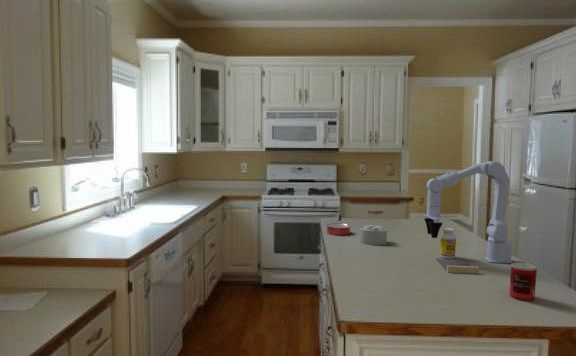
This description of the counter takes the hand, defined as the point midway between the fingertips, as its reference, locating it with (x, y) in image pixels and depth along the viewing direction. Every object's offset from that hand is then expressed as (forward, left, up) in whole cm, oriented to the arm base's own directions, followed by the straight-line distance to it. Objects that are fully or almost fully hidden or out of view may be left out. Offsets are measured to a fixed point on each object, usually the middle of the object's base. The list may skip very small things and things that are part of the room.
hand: (432, 235), depth 201 cm
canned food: (-20, +47, -10) cm, 52 cm away
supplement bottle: (-8, -3, -10) cm, 13 cm away
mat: (-8, +11, -10) cm, 17 cm away
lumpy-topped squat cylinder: (+23, -27, -10) cm, 37 cm away
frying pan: (+41, -56, -10) cm, 70 cm away
